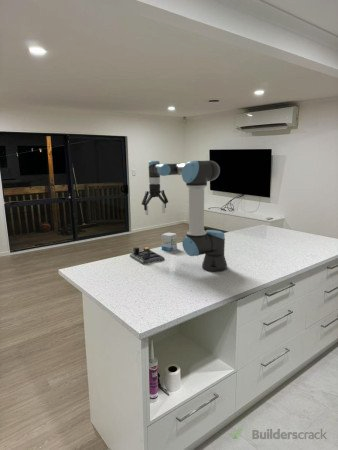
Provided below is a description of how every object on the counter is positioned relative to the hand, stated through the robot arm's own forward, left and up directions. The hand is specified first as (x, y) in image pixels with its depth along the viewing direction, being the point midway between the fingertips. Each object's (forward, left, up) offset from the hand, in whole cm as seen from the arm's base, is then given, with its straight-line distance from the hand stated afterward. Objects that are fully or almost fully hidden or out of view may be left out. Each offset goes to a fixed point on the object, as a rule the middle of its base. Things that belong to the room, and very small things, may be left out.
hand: (155, 213), depth 223 cm
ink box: (+1, -11, -28) cm, 30 cm away
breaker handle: (-9, +13, -26) cm, 30 cm away
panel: (-9, +13, -28) cm, 32 cm away
